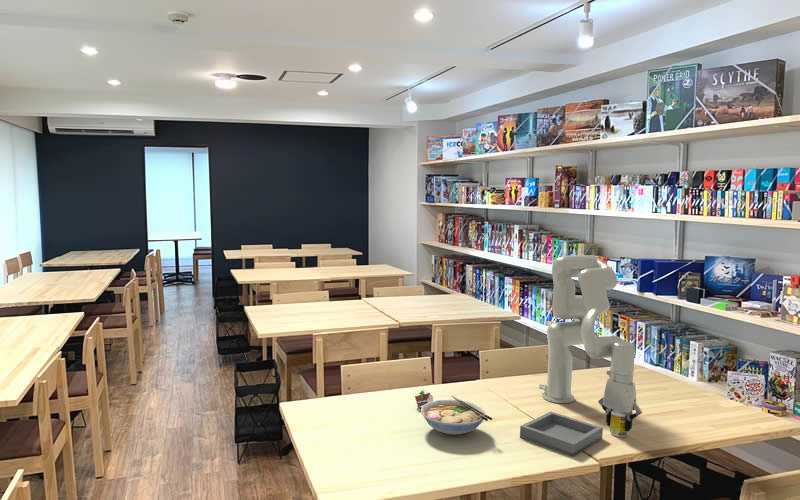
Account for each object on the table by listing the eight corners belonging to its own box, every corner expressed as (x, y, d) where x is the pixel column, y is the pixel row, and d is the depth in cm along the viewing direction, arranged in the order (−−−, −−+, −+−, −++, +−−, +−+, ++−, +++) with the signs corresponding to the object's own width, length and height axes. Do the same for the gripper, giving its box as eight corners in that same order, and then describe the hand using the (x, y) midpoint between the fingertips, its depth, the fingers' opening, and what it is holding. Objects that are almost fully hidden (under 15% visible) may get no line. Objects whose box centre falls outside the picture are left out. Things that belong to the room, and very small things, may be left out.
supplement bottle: (620, 438, 200) (621, 410, 199) (606, 433, 204) (608, 404, 204) (630, 435, 203) (631, 407, 202) (616, 429, 208) (618, 402, 207)
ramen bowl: (408, 422, 210) (408, 400, 210) (463, 414, 220) (464, 393, 219) (439, 450, 188) (440, 426, 187) (500, 440, 197) (501, 416, 196)
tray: (519, 437, 199) (520, 426, 199) (550, 422, 214) (550, 411, 213) (573, 456, 185) (573, 444, 185) (602, 438, 199) (602, 427, 199)
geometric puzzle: (408, 403, 224) (420, 388, 222) (414, 397, 230) (426, 383, 228) (421, 416, 222) (434, 402, 220) (427, 410, 229) (439, 396, 226)
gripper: (593, 373, 205) (590, 423, 207) (641, 385, 193) (638, 438, 195) (602, 369, 210) (600, 417, 212) (650, 381, 198) (647, 432, 200)
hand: (618, 427), depth 203 cm, fingers open, 5 cm apart
